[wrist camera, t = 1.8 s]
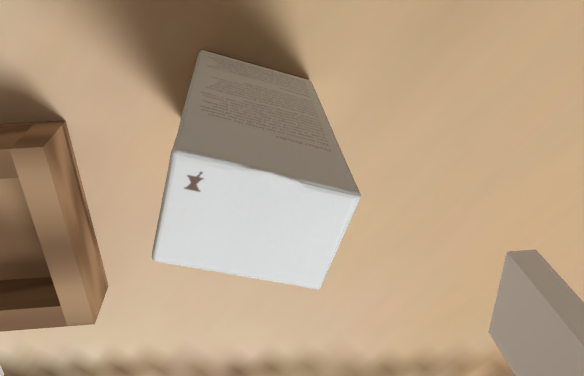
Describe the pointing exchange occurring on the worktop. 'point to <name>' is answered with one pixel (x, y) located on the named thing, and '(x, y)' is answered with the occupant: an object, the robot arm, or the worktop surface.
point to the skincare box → (254, 178)
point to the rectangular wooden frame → (45, 232)
